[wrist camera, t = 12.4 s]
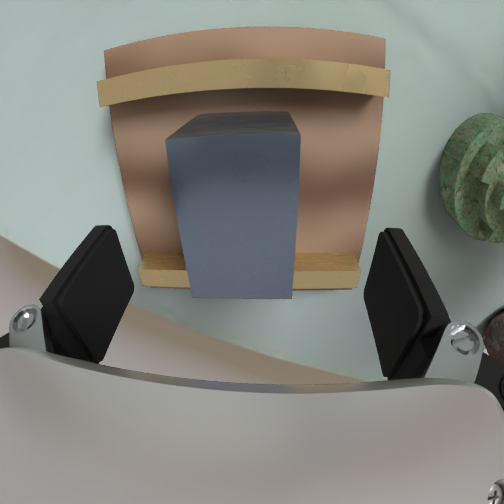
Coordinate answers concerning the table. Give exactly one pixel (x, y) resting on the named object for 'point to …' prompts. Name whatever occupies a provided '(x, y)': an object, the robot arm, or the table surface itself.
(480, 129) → the decorative artifact
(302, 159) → the channel stand
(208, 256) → the block
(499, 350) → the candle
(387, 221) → the table surface
